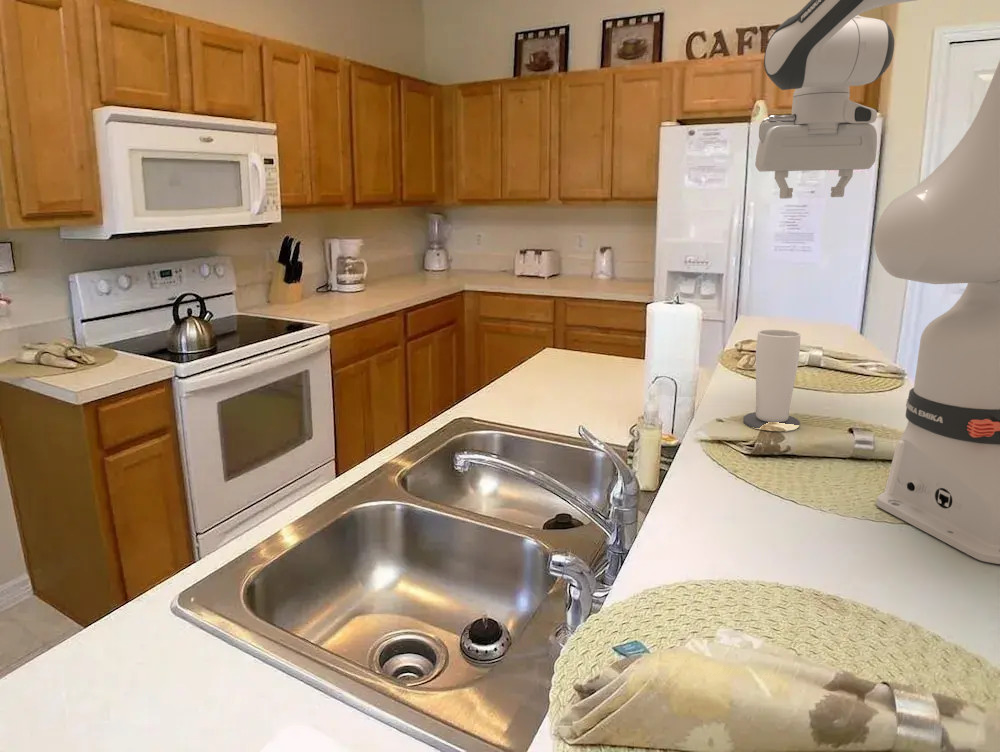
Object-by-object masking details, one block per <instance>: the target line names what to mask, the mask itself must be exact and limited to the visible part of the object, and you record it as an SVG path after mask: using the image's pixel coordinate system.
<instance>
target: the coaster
mask: <svg viewBox="0 0 1000 752" xmlns="http://www.w3.org/2000/svg"><path fill="white" fill-rule="evenodd" d="M766 423H768V422H765V421H762V420H760V419H758V418H757V417H756V411H755V412H750V413H746V414H744V416H743V424H744V425H745V426H746V427H749V426H750V427H749V428H751V427H754V428H760V427H761V426H762V425H764V424H766ZM780 423H785V424H794V425H800V424H801V423H800V420H799V419H798V418H796V417H794V416H792V415H789V418H788V420H787V421H785V422H780ZM800 426H801V425H800ZM754 428H753V429H754Z"/></svg>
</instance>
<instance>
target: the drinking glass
mask: <svg viewBox="0 0 1000 752" xmlns="http://www.w3.org/2000/svg"><path fill="white" fill-rule="evenodd" d="M800 352H801V333H799V332H797V331H793V330H788V329H787V330H785V329H764V330H759V331H758V332H757V338H756V346H755V395H756V396H755V401H756V402H755V412H756V417H757V418H758V419H760V420H762V421H765V422H779V423H780V422H785V421H787V420H788V418H789V416H790V409H791V402H792V397H793V392H794V387H795V381H796V377H797V375H796V374H797V371H798V366H799V360H800Z"/></svg>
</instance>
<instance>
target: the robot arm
mask: <svg viewBox="0 0 1000 752" xmlns="http://www.w3.org/2000/svg"><path fill="white" fill-rule="evenodd" d="M915 1H917V0H810V1H808V2H807V3H806V4H805V6H804V7H802V9H800V10H799V11H798V12H797V13H796V14H794V15H792V16H790V17H788V18H787V19H786V20H784V22H782V23H781V24H780V25H779V26H778V27H777V28H776V30H774V32H773V33H772V35H771V36H770V38H769V39H768V42H767V44H766V48H765V51H764V55H763V56H764V58H763V67H764V71H765V73H766V75H767V77H768V78H769V79H770V80H771V82H773V84H774V85H775V86H776V87H777V88H778V89H780V90H781V91H786V90H794V91H793V94H792V101H791V102H792V103H791V114H781V115H777V114H771V115H768V116H767V117H766V118H764V119H763V120H762V121H761V122H760V124H759V128H758V138H759V141H758V146H757V150H756V155H755V163H754V165H755V168H756V169H757V171H758V172H760V173H762V172H763V173H764V172H765V173H766V172H774V180H775V183H776V184H777V186H778V189H779V198H780V199H784V200H786V199H793V192H794V187H789V186H788V185H789V184H788V183H787V180H786V179H787V178H788V177H789V172H799V171H800V172H801V171H805V172H807V171H838V172H837V173H838V174H837V175H838V177H840V178H839V180H838V181H837V182H836V183H837V184H836V185H835V186H831V188H830V191H831V192H830V197H831V198H843V197H844V196H845V189H846V187H847V185H848V184H849V182H850V181H851V179H852V178H853V175H854V170H869V169H871V168H872V167H873V165H874V164H875V163H876V157H877V151H878V150H877V147H878V133H877V129H876V128H875V126H874V125H872V123H875V122H876V121H877V119H878V118H877V116H878V112H877V110H876V109H874V108H872V107H868V106H865V105H863V104H861V103H857V102H855V101H853V100H850V96H851V95H850V93H851V92H850V87H857V86H864V85H867V84H872V83H874V82H875V81H877V80H878V79H879V78H880V77H881V76H882V75H884V73H885V72H886V71H887V70H888V69H889V66H890V65H891V62H892V60H893V58H894V57H893V56H894V51H895V38H894V37H895V36H894V34H893V30H892V28H891V27H890V25H889V24H888V22H886V21H885V20H884V19H878V18H875V17H869V16H868V17H867V16H866V17H865V16H861V15H860V14H863V13H865V12H867V11H870V10H874V9H878V8H880V7H886V6H891V5H894V4H900V3H901V4H902V3H908V2H915ZM874 230H875V232H874V239H873V240H874V242H873V243H874V250H875V254H876V257H877V259H878V261H879V263H880V265H881V266H882V268H883V269H884V270H885V271H886V273H888V274H889V275H890V276H892V277H895V278H898V279H903V280H906V281H912V282H918V283H924V284H925V283H926V284H930V285H949V284H951V285H953V284H967V285H966V287H965V288H964V291H963V293H962V294H961V296H960V297H959V299H958V300H957V301H956V302H955V304H954V305H953V306H952V307H950V309H948V310H947V311H945V312H944V313H943V314H941V315H939V316H937V317H935V318H934V319H933V320H932V321H930V322H929V323H928V324H927V325H926V326H925V328H924V329H923V331H922V333H921V336H920V339H919V347H918V348H919V349H918V355H917V362H916V369H915V377H914V378H915V379H914V384H913V387H912V388H911V389H909V391H908V392H909V393H908V398H907V399H906V403H905V406H906V410H905V418H906V420H908V421H907V425H906V427H905V430H904V431H903V433H902V435H901V437H900V439H899V440H898V441H897V444H896V446H895V450H894V453H893V457H892V461H891V464H890V468H889V474H888V477H887V479H886V481H887V482H886V485H885V488H884V491H883V492H882V493H880V494H879V495H878V496H877V499H876V502H875V505H876V506H877V507H878V508H879V509H881V510H883V511H885V512H887V513H888V514H891V515H893V516H895V517H896V518H898V519H900V520H902V521H904V522H906V523H907V524H910V525H912V526H913V527H915V528H917V529H920V530H921V531H923V532H925V533H927V534H928V535H930V536H933V537H934V538H936V539H938V540H940V541H942V542H944V543H946V545H947V544H948V545H949V546H951V547H953V548H955V549H957V550H959V551H960V552H962V553H964V554H966V555H968V556H971V557H972V558H974V559H975V560H978V561H981V562H985V563H991V564H994V565H995V564H997V565H1000V60H999V61H998V64H997V66H996V69H995V72H994V74H993V75H992V79H991V81H990V84H989V86H988V88H987V91H986V93H985V95H984V97H983V100H982V102H981V105H980V107H979V110H978V111H977V113H976V115H975V117H974V119H973V120H972V122H971V124H970V126H969V127H968V129H967V131H966V132H965V134H964V135H963V137H962V138H961V139H960V140H959V142H958V143H957V145H955V147H954V149H952V151H951V152H950V153H949V154H948V156H947V157H946V158H945V159H944V160H943V161H942V162H941V163H940V164H939V165H938V166H937V168H936V169H934V170H933V171H932V172H931V173H929V175H928V176H927V177H926V178H924V179H923V180H922V181H920V183H918V184H917V185H915V186H914V187H912V188H910V189H909V190H908V191H906V192H904V193H903V194H900V195H899V196H896V197H895V198H894V199H893V200H892V201H891V202H890V203H889V204H888V205H887V206H886V208H885V209H884V210H883V212H882V213H881V215H880V216H879V219H878V221H877V224H876V226H875V229H874Z"/></svg>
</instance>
